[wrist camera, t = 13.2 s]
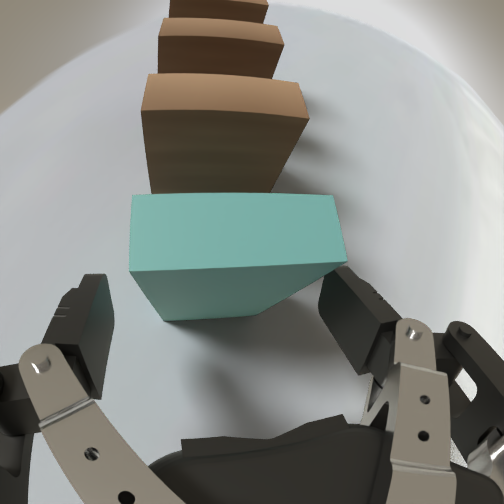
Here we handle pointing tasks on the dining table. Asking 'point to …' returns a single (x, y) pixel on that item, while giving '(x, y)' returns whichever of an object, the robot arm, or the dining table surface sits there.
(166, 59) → the tile
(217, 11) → the tile
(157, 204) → the teal tile
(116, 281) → the dining table surface
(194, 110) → the tile
